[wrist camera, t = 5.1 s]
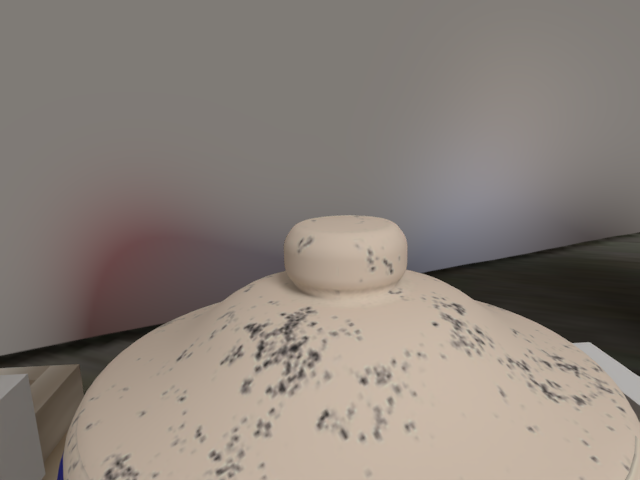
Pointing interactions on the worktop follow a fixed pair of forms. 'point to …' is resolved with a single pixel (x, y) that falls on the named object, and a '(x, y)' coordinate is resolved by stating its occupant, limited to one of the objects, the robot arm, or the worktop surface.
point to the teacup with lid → (352, 382)
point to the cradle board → (52, 407)
